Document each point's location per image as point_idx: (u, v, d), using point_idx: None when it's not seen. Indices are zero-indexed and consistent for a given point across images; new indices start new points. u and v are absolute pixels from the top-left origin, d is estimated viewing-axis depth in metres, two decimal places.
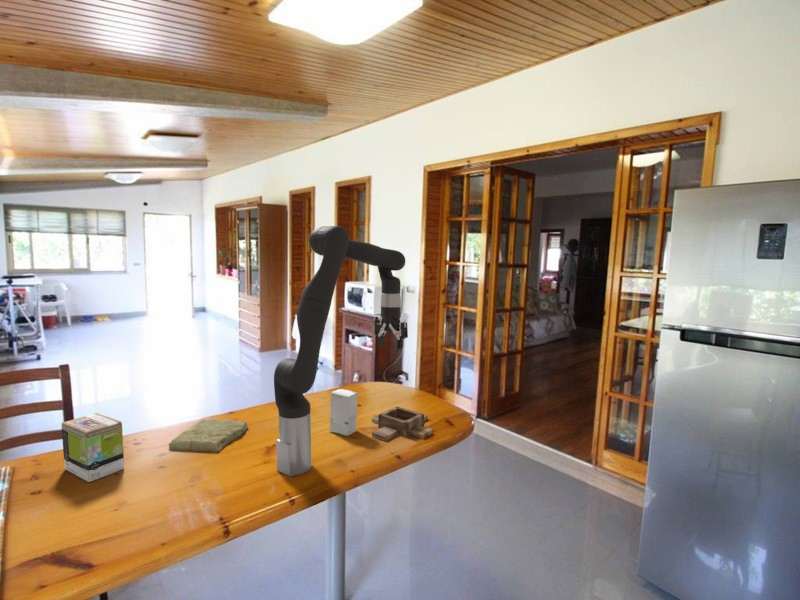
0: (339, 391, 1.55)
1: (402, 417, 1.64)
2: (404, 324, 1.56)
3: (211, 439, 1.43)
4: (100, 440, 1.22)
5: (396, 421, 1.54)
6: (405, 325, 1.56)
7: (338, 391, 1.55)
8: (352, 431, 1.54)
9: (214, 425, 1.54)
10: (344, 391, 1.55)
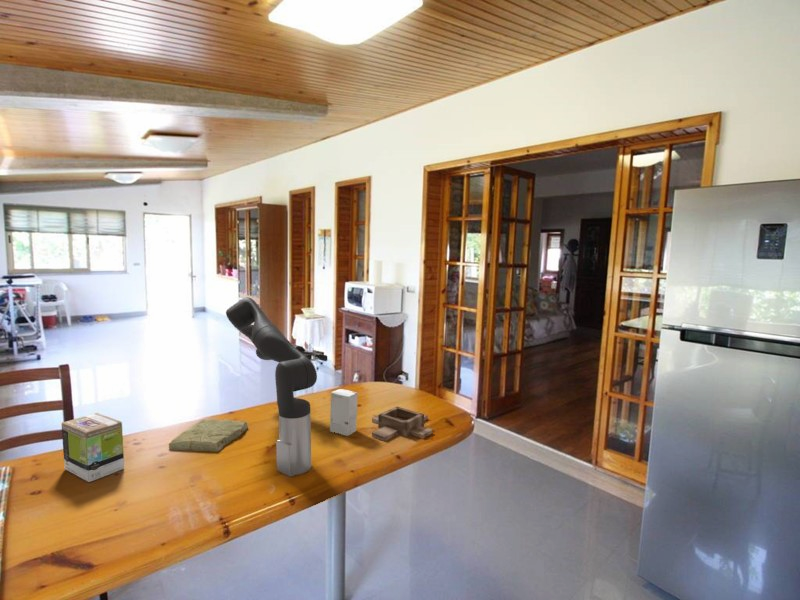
0: (339, 391, 1.55)
1: (402, 417, 1.64)
2: None
3: (211, 439, 1.42)
4: (100, 440, 1.22)
5: (396, 421, 1.54)
6: None
7: (338, 391, 1.55)
8: (352, 431, 1.54)
9: (214, 425, 1.54)
10: (344, 391, 1.55)
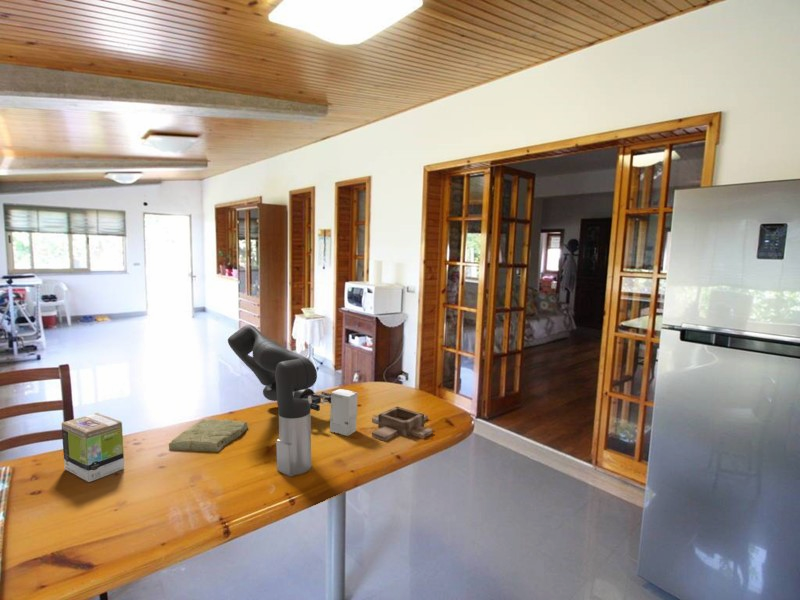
0: (339, 391, 1.55)
1: (402, 417, 1.64)
2: None
3: (211, 439, 1.42)
4: (100, 440, 1.22)
5: (396, 421, 1.54)
6: None
7: (338, 391, 1.55)
8: (352, 431, 1.54)
9: (214, 425, 1.54)
10: (344, 391, 1.55)
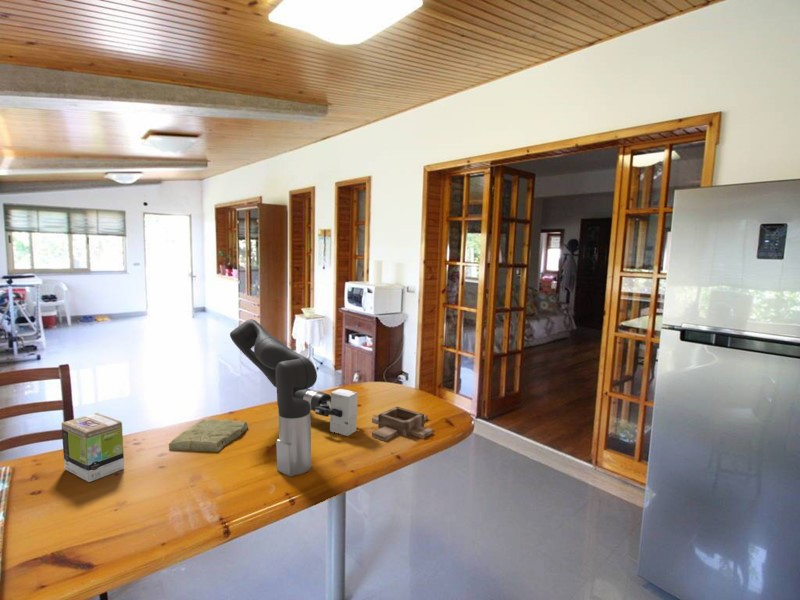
0: (339, 391, 1.55)
1: (402, 417, 1.64)
2: None
3: (211, 439, 1.42)
4: (100, 440, 1.22)
5: (396, 421, 1.54)
6: None
7: (338, 391, 1.55)
8: (352, 431, 1.54)
9: (214, 425, 1.54)
10: (344, 391, 1.55)
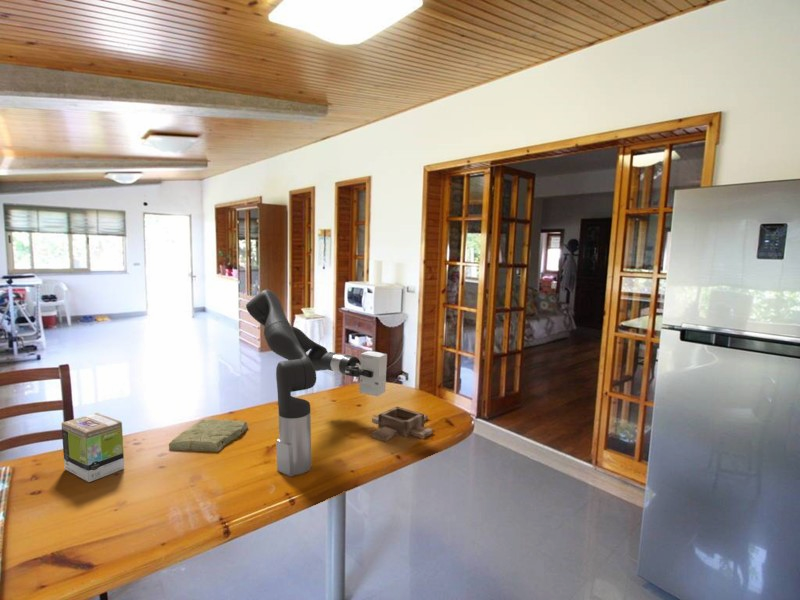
0: (369, 352, 1.56)
1: (402, 417, 1.64)
2: None
3: (211, 439, 1.42)
4: (100, 440, 1.22)
5: (396, 421, 1.54)
6: None
7: (367, 352, 1.56)
8: (381, 392, 1.55)
9: (214, 425, 1.54)
10: (373, 352, 1.56)
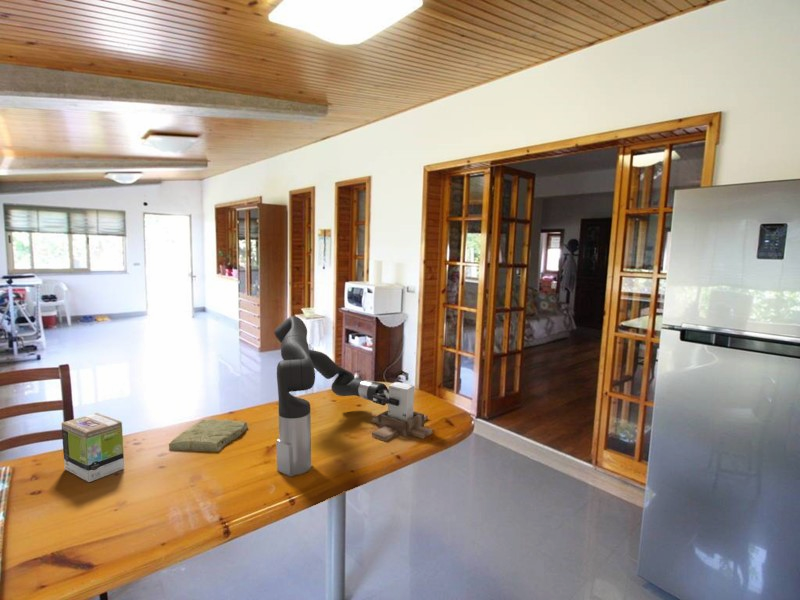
0: (396, 384, 1.58)
1: None
2: None
3: (211, 439, 1.42)
4: (100, 440, 1.22)
5: (396, 421, 1.54)
6: None
7: (395, 384, 1.58)
8: None
9: (214, 425, 1.54)
10: (401, 384, 1.59)
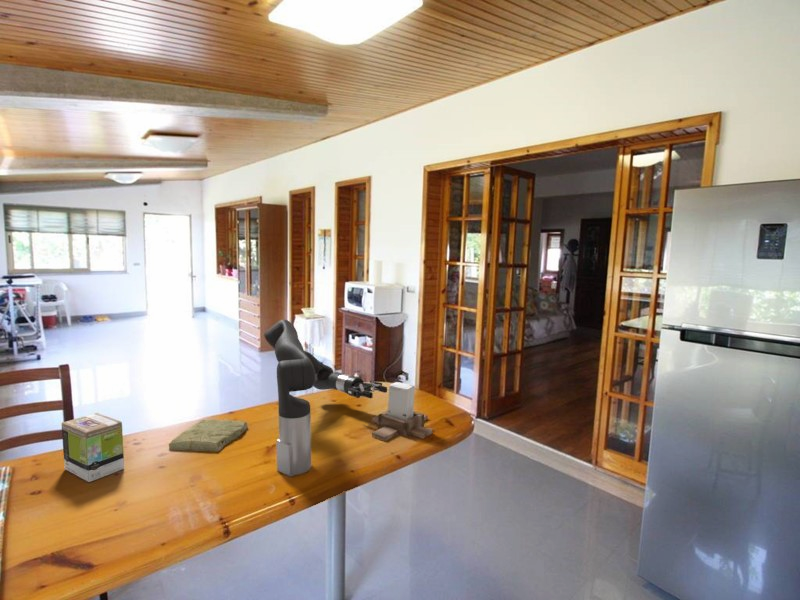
0: (397, 384, 1.59)
1: None
2: None
3: (211, 439, 1.42)
4: (100, 440, 1.22)
5: (396, 421, 1.54)
6: None
7: (396, 384, 1.59)
8: None
9: (214, 425, 1.54)
10: (401, 384, 1.59)
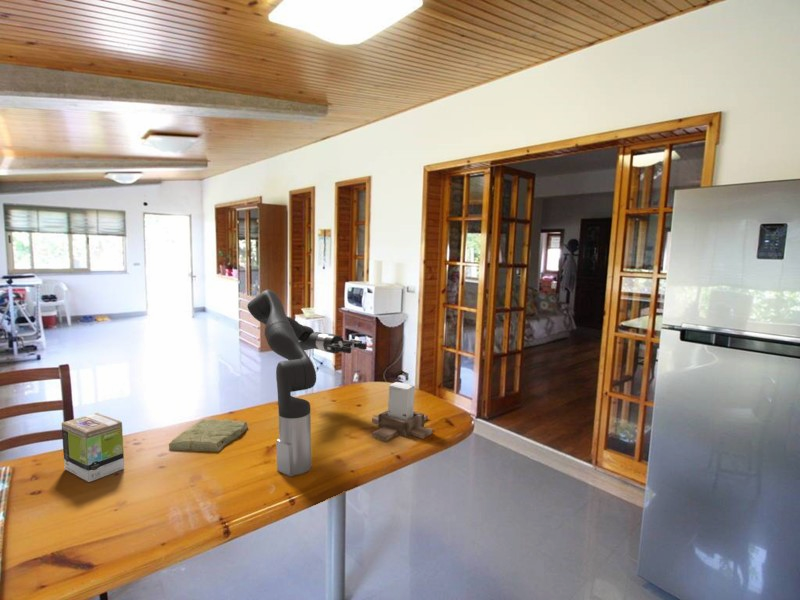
0: (397, 384, 1.59)
1: None
2: None
3: (211, 439, 1.42)
4: (100, 440, 1.22)
5: (396, 421, 1.54)
6: None
7: (396, 384, 1.59)
8: None
9: (214, 425, 1.54)
10: (401, 384, 1.59)
